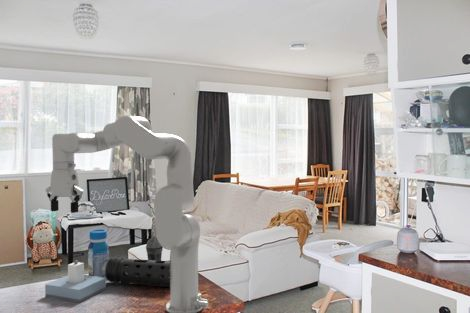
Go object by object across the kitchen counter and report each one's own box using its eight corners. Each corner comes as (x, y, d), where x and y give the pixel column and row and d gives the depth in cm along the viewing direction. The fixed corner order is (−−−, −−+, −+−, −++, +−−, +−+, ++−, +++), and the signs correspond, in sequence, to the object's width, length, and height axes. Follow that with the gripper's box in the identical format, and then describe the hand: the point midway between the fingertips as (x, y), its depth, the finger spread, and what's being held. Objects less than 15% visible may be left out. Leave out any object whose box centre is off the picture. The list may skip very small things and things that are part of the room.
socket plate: (106, 289, 158) (105, 277, 158) (79, 302, 145) (79, 289, 145) (73, 284, 164) (73, 273, 164) (45, 296, 151) (45, 284, 151)
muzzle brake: (168, 291, 156) (168, 264, 155) (100, 287, 161) (100, 260, 161) (177, 283, 165) (176, 257, 165) (112, 279, 171) (112, 254, 170)
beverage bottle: (102, 283, 165) (101, 233, 165) (83, 281, 168) (82, 232, 167) (113, 276, 174) (112, 229, 173) (95, 274, 176) (95, 228, 175)
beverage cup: (142, 275, 174) (142, 228, 174) (151, 270, 181) (150, 225, 181) (158, 277, 172) (157, 229, 172) (166, 271, 179) (165, 226, 179)
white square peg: (84, 289, 156) (83, 259, 155) (76, 292, 152) (76, 262, 152) (76, 287, 157) (75, 258, 157) (68, 291, 154) (67, 261, 153)
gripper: (88, 166, 155) (89, 211, 156) (53, 165, 162) (54, 209, 162) (74, 167, 148) (75, 214, 149) (38, 166, 155) (39, 212, 155)
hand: (64, 211), depth 156 cm, fingers open, 9 cm apart
